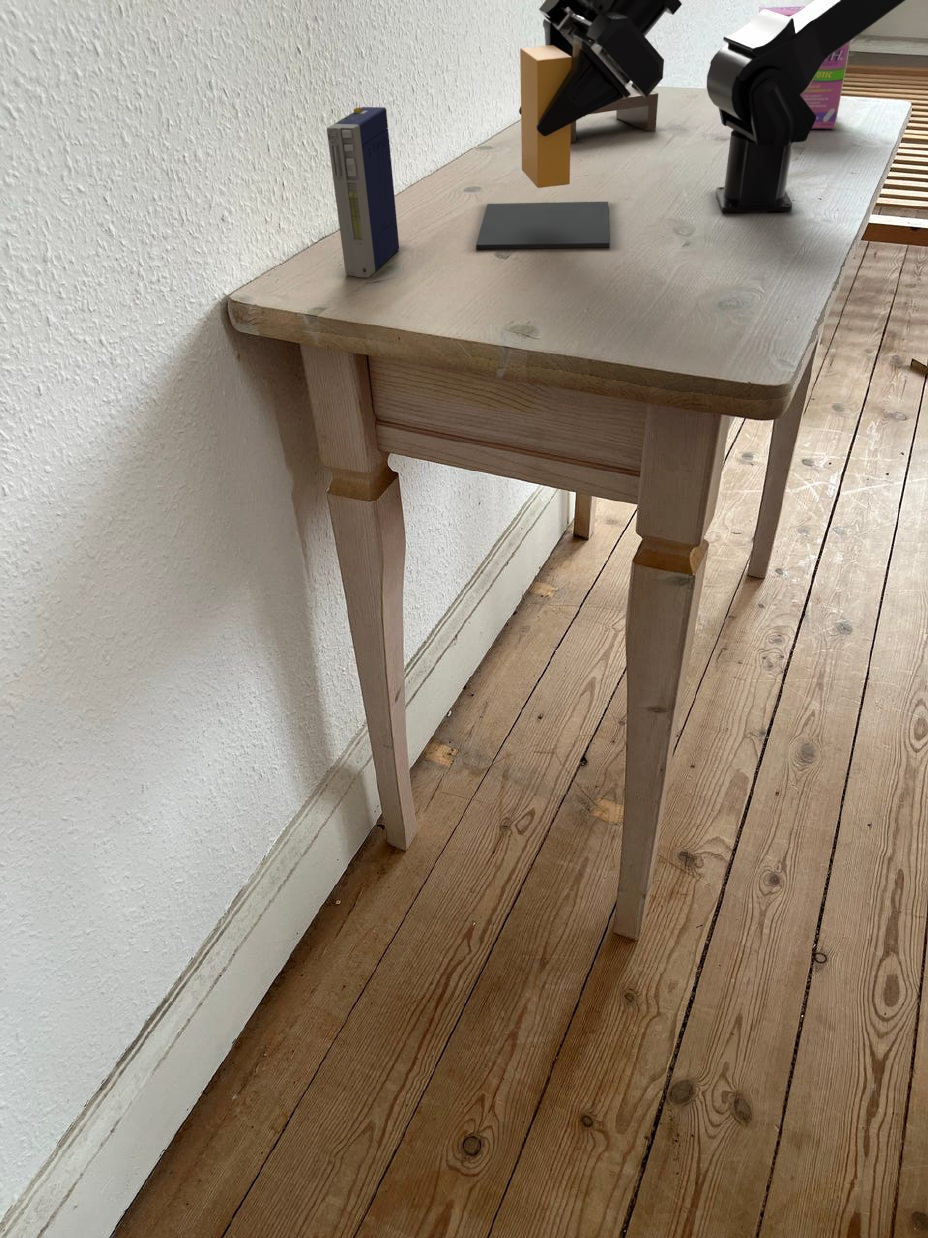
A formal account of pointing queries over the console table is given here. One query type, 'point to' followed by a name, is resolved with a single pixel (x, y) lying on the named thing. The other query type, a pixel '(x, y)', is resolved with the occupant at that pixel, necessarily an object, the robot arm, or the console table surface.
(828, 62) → the box
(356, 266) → the cassette player
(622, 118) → the shelf
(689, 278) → the console table surface
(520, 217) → the mat
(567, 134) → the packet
